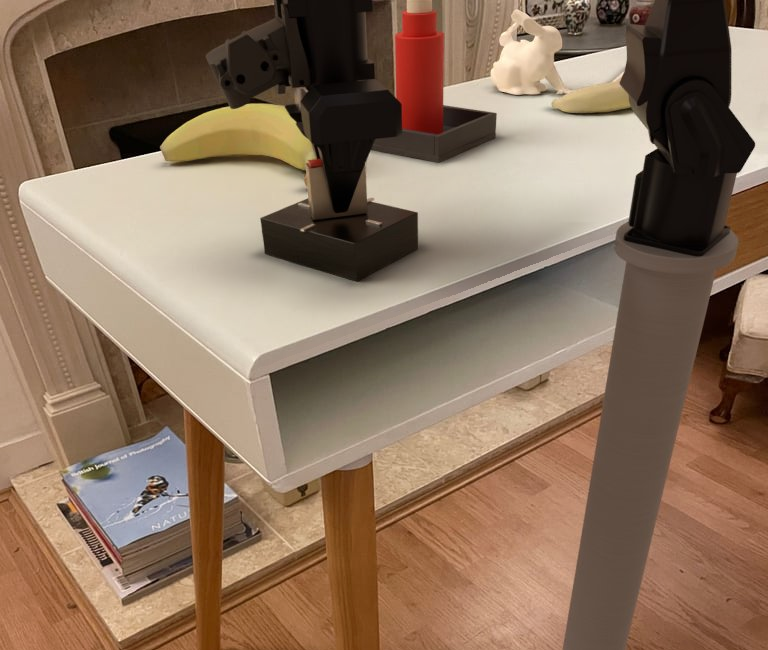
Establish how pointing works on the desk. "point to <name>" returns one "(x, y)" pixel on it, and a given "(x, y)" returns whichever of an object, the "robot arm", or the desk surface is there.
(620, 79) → the pale wooden rod
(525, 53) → the rabbit figurine
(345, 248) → the black rectangular block
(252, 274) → the desk surface
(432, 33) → the ketchup bottle
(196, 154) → the banana
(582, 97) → the fruit
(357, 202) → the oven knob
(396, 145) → the tray
